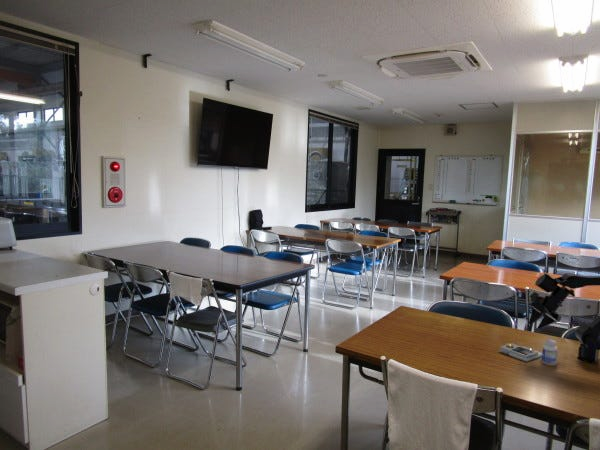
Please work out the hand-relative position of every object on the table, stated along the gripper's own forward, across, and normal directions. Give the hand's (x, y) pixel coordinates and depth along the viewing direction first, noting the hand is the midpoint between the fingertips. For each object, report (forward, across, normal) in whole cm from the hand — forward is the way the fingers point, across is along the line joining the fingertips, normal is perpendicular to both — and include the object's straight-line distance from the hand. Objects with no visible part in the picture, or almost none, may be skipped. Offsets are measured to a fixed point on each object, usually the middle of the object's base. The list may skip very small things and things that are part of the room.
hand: (534, 326), depth 188 cm
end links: (+14, -2, +2) cm, 14 cm away
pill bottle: (+9, -2, +13) cm, 16 cm away
